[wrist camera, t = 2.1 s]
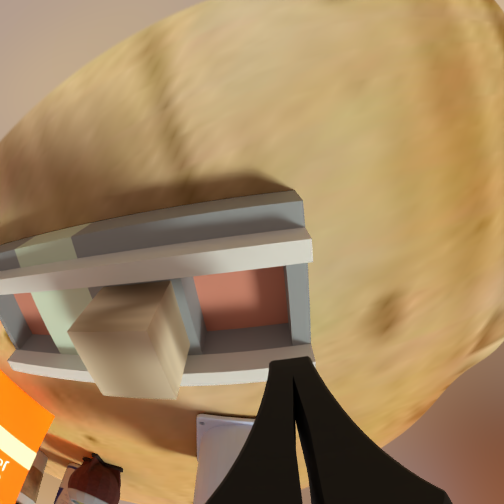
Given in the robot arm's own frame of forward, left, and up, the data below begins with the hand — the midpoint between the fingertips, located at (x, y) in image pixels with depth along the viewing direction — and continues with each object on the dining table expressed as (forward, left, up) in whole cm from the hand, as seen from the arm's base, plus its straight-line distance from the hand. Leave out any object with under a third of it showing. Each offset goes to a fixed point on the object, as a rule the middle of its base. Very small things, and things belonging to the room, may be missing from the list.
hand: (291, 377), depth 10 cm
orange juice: (-22, +27, -8) cm, 36 cm away
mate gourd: (-32, +17, -8) cm, 37 cm away
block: (-2, +7, -5) cm, 9 cm away
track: (-3, +9, -8) cm, 12 cm away
